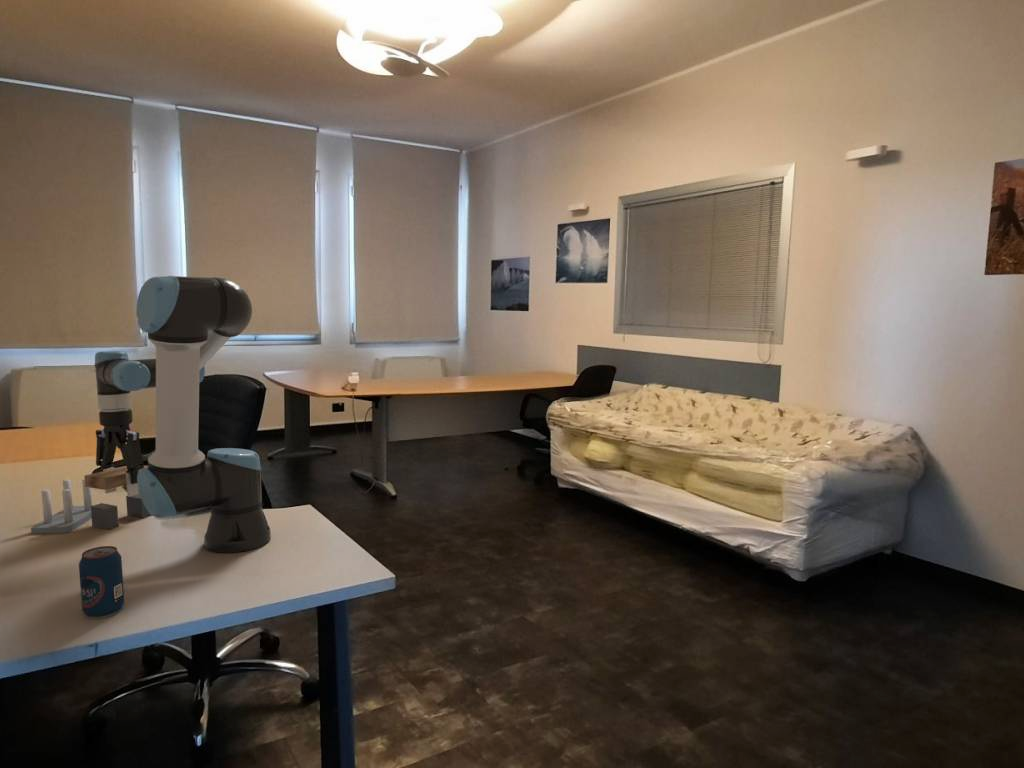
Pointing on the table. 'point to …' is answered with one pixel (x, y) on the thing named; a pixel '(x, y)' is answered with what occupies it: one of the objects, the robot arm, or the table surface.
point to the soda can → (101, 582)
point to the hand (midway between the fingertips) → (121, 493)
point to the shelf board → (107, 478)
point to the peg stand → (64, 512)
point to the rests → (108, 514)
